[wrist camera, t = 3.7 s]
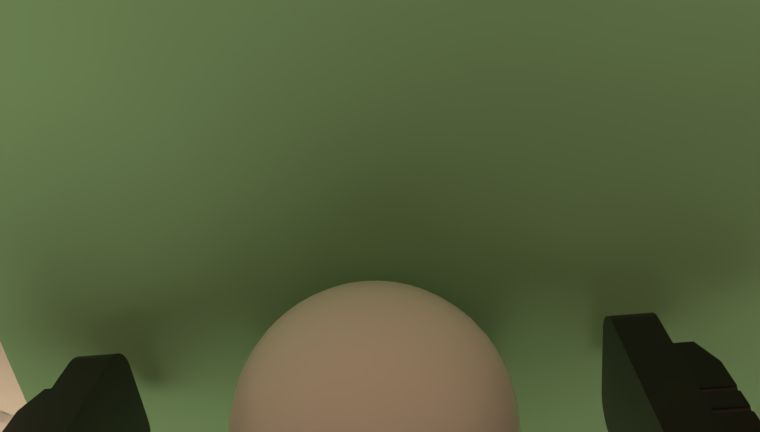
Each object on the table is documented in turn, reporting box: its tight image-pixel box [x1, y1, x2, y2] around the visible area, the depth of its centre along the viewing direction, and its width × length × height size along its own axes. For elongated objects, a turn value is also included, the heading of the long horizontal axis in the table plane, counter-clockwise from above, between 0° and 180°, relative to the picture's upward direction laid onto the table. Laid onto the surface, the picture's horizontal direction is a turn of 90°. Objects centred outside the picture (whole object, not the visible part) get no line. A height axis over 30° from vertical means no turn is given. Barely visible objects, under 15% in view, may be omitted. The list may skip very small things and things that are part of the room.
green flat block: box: [0, 0, 760, 432], centre depth 15 cm, size 26×14×4 cm, turn 97°
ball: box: [229, 280, 520, 432], centre depth 11 cm, size 4×4×4 cm
